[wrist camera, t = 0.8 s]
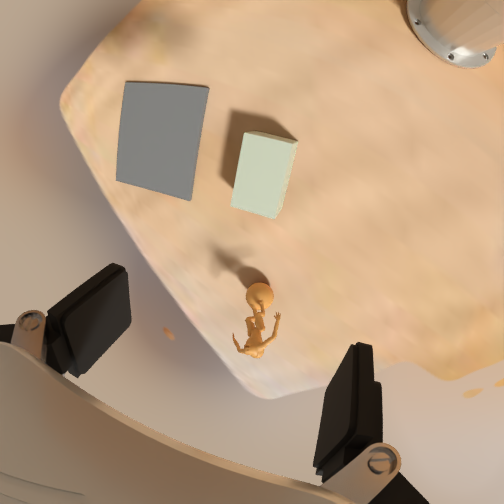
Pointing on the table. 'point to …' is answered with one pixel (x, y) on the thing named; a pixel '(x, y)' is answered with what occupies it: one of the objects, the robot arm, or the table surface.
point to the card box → (263, 173)
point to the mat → (160, 136)
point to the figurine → (258, 320)
